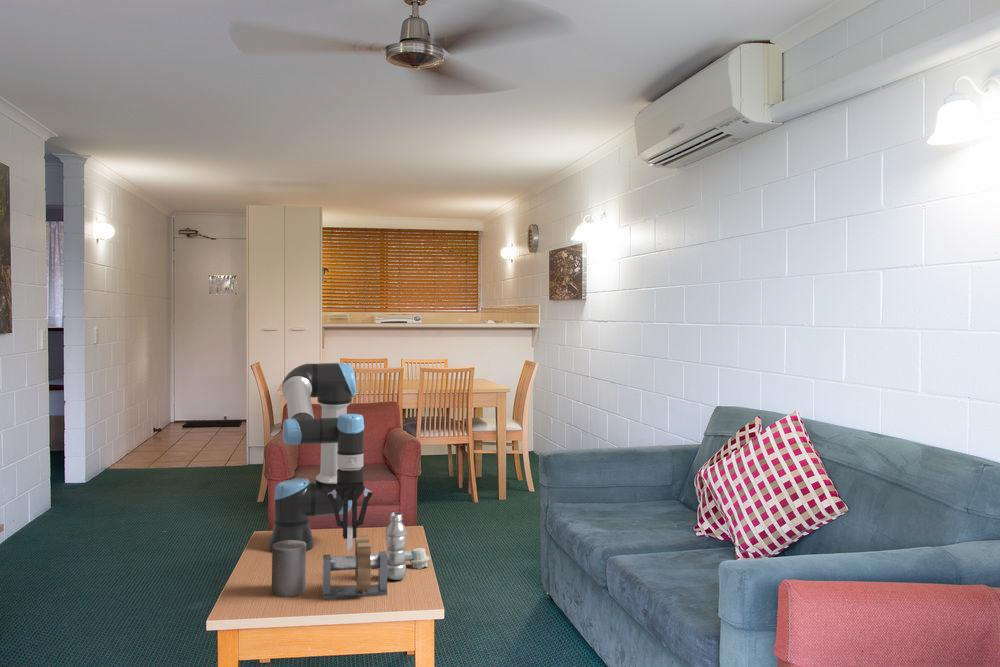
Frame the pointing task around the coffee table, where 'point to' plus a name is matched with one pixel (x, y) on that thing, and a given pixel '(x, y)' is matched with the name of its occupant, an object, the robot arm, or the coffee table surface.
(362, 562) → the slotted tan block
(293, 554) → the pillar candle
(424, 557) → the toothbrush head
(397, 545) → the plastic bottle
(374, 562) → the rail stand
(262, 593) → the coffee table surface
